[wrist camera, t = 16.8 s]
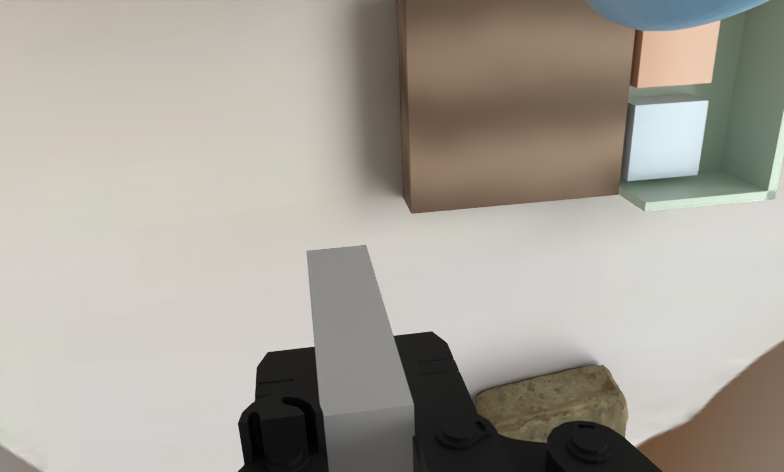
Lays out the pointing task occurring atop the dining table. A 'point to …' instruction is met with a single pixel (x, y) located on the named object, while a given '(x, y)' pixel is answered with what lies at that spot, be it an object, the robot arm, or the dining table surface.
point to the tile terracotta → (674, 56)
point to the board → (510, 102)
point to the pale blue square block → (663, 136)
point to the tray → (731, 119)
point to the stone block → (554, 403)
